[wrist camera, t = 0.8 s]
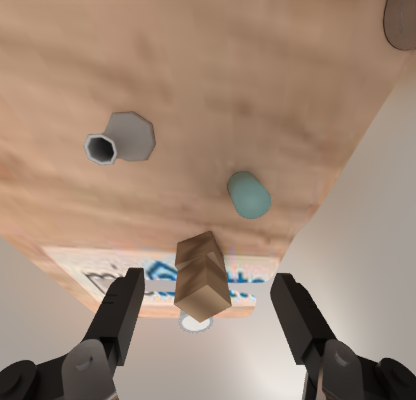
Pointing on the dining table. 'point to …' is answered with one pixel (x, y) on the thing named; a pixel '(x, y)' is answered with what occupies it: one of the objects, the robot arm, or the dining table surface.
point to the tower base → (199, 251)
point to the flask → (121, 140)
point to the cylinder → (248, 195)
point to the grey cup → (193, 323)
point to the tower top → (202, 289)
